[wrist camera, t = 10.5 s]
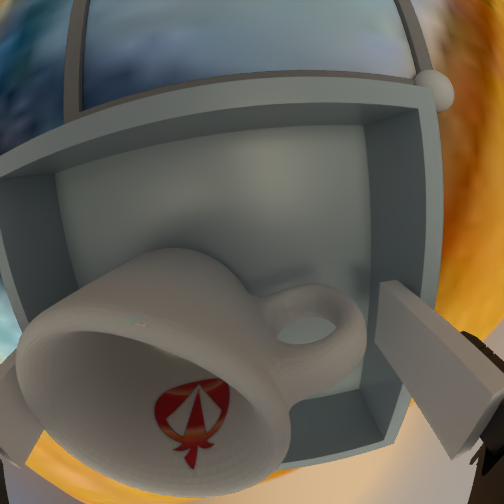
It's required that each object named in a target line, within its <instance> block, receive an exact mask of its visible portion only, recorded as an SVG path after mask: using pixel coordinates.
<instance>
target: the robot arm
mask: <svg viewBox="0 0 504 504" xmlns="http://www.w3.org/2000/svg"><path fill="white" fill-rule="evenodd" d="M374 342H375V343H376V345H377V346H378V347H379V349H380V350H381V352H382V353H383V355H384V356H385V358H386V359H387V360H388V362H389V363H390V365H391V366H392V368H393V369H394V371H395V372H396V374H397V375H398V377H399V378H400V380H401V381H402V383H403V384H404V386H405V387H406V389H407V390H408V392H409V393H410V395H411V396H412V398H413V399H414V401H415V402H416V404H417V405H418V407H419V408H420V410H421V411H422V413H423V415H424V416H425V418H426V419H427V421H428V423H429V424H430V426H431V427H432V429H433V431H434V432H435V434H436V435H437V437H438V439H439V440H440V442H441V444H442V445H443V447H444V449H445V450H446V452H447V454H448V455H449V457H450V459H451V460H454V459H455V458H457V457H459V456H461V455H462V454H464V453H466V452H467V451H469V450H471V449H472V447H473V446H474V444H475V443H476V442H477V440H478V439H479V437H480V438H481V440H482V441H483V444H482V446H481V447H480V449H479V450H478V451H477V452H476V454H475V455H474V456H473V458H472V459H471V461H470V464H471V465H472V464H473V463H474V462H475V460H476V459H477V458H478V457H479V458H478V463H477V464H476V465H477V468H476V474H475V478H474V482H473V486H472V490H471V494H470V497H469V501H468V504H504V361H503V360H502V359H500V358H499V357H498V356H497V355H496V354H493V351H492V350H490V348H488V347H486V345H485V344H484V343H483V342H482V341H481V340H479V339H478V338H477V337H476V336H474V335H471V334H469V333H467V332H465V331H462V332H459V331H458V330H457V329H455V328H454V327H453V326H452V325H451V324H450V323H449V322H447V321H446V320H445V319H444V318H443V317H442V316H440V315H439V314H438V313H437V312H436V311H435V310H433V309H432V308H431V307H430V306H429V305H427V304H426V303H425V302H424V301H423V300H421V299H420V298H419V297H418V296H416V295H415V294H414V293H413V292H411V291H410V290H409V289H408V288H407V287H405V286H404V285H403V284H401V283H400V282H399V281H398V280H391V281H386V282H380V288H379V302H378V313H377V323H376V332H375V341H374ZM16 351H17V348H16V349H15V350H14V351H13V352H12V353H11V354H10V355H9V356H8V357H7V359H6V360H5V361H4V362H3V363H2V364H1V365H0V453H1V454H2V455H3V456H4V457H5V458H6V459H7V460H8V461H9V462H10V463H11V464H13V465H15V466H17V467H19V468H21V469H22V468H23V466H24V464H25V462H26V460H27V458H28V457H29V455H30V453H31V451H32V449H33V448H34V446H35V444H36V442H37V441H38V439H39V437H40V435H41V434H42V432H43V430H44V428H43V427H42V426H41V425H40V423H39V422H38V420H37V419H36V418H35V416H34V415H33V413H32V412H31V410H30V408H29V406H28V405H27V403H26V401H25V398H24V396H23V394H22V391H21V389H20V386H19V382H18V378H17V372H16ZM0 504H9V501H8V496H7V490H6V485H5V478H4V470H3V463H2V460H1V459H0Z"/></svg>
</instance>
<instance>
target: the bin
mask: <svg viewBox="0 0 504 504" xmlns="http://www.w3.org/2000/svg"><path fill="white" fill-rule="evenodd" d="M442 237H443V168H442V154H441V143H440V134H439V126H438V119H437V112H436V106H435V101H434V95H433V90H432V89H431V88H426V87H421V86H415V85H409V84H403V83H396V82H389V81H380V80H371V79H359V78H344V77H276V78H260V79H249V80H239V81H230V82H222V83H215V84H208V85H202V86H196V87H191V88H185V89H180V90H175V91H171V92H166V93H162V94H157V95H153V96H149V97H145V98H142V99H138V100H134V101H131V102H127V103H124V104H120V105H117V106H114V107H111V108H108V109H105V110H102V111H99V112H96V113H93V114H90V115H87V116H85V117H82V118H79V119H77V120H74V121H72V122H69V123H67V124H64V125H62V126H59V127H57V128H55V129H53V130H50V131H48V132H46V133H44V134H42V135H39V136H37V137H35V138H33V139H31V140H29V141H27V142H25V143H23V144H21V145H19V146H17V147H15V148H14V149H12V150H10V151H8V152H6V153H5V154H3V155H1V156H0V272H1V276H2V279H3V282H4V286H5V289H6V292H7V295H8V297H9V300H10V303H11V306H12V308H13V311H14V314H15V316H16V319H17V321H18V324H19V326H20V328H21V331H22V333H23V332H24V330H25V329H26V327H27V326H28V325H29V323H30V322H31V321H32V320H33V319H34V318H35V317H37V316H38V315H39V314H40V313H42V312H43V311H44V310H46V309H48V308H49V307H51V306H53V305H54V304H56V303H57V302H59V301H61V300H62V299H64V298H66V297H67V296H69V295H71V294H72V293H74V292H76V291H77V290H79V289H81V288H82V287H84V286H86V285H88V284H89V283H91V282H93V281H95V280H96V279H98V278H100V277H101V276H103V275H105V274H107V273H109V272H110V271H112V270H114V269H116V268H117V267H119V266H121V265H123V264H125V263H126V262H128V261H130V260H132V259H134V258H136V257H138V256H140V255H142V254H145V253H148V252H151V251H154V250H159V249H165V248H183V249H190V250H194V251H198V252H201V253H203V254H206V255H208V256H210V257H212V258H214V259H216V260H218V261H219V262H221V263H222V264H223V265H225V266H226V267H227V268H228V269H229V270H230V271H231V272H232V273H233V274H234V275H235V276H236V277H237V278H238V279H239V280H240V282H241V283H242V284H243V286H244V287H245V289H246V291H247V292H248V293H249V294H251V295H253V296H256V297H261V296H266V295H269V294H272V293H275V292H278V291H281V290H284V289H287V288H290V287H294V286H298V285H304V284H325V285H330V286H333V287H336V288H338V289H340V290H341V291H343V292H344V293H346V294H347V295H349V296H350V297H351V298H352V299H353V300H354V301H355V302H356V304H357V305H358V307H359V309H360V310H361V312H362V314H363V317H364V321H365V325H366V330H367V347H366V351H365V354H364V356H363V358H362V360H361V362H360V363H359V365H358V366H357V368H356V369H355V370H354V371H353V372H352V373H351V374H350V375H349V376H347V377H346V378H344V379H343V380H342V381H340V382H339V383H337V384H335V385H333V386H331V387H330V388H328V389H326V390H323V391H321V392H319V393H316V394H314V395H312V396H309V397H307V398H305V399H302V400H301V401H299V402H297V403H296V404H294V405H293V406H292V407H291V409H290V411H289V419H290V424H291V440H290V445H289V449H288V451H287V454H286V456H285V458H284V459H283V461H282V463H281V464H280V465H279V467H278V468H277V469H276V470H275V471H277V470H285V469H292V468H299V467H305V466H311V465H316V464H321V463H325V462H330V461H335V460H339V459H343V458H347V457H351V456H355V455H359V454H362V453H366V452H369V451H372V450H376V449H378V448H382V447H385V446H388V445H391V444H393V443H394V441H395V439H396V437H397V434H398V432H399V430H400V427H401V425H402V422H403V420H404V417H405V414H406V412H407V409H408V406H409V403H410V401H411V398H412V396H411V395H410V393H409V392H408V390H407V389H406V387H405V386H404V384H403V383H402V381H401V380H400V378H399V377H398V375H397V374H396V372H395V371H394V369H393V368H392V366H391V365H390V363H389V362H388V360H387V359H386V358H385V356H384V355H383V353H382V352H381V350H380V349H379V347H378V346H377V345H376V343H375V342H374V341H375V332H376V323H377V313H378V302H379V288H380V282H386V281H391V280H398V281H399V282H400V283H401V284H403V285H404V286H405V287H407V288H408V289H409V290H410V291H411V292H413V293H414V294H415V295H416V296H418V297H419V298H420V299H421V300H423V301H424V302H425V303H426V304H427V305H429V306H430V307H431V308H432V309H433V310H434V307H435V301H436V295H437V288H438V280H439V272H440V263H441V252H442ZM336 328H337V327H336V326H335V325H334V324H333V323H331V322H330V321H328V320H326V319H323V318H319V317H308V318H303V319H300V320H297V321H294V322H292V323H290V324H289V325H287V326H286V327H285V328H283V329H282V330H281V332H280V333H279V335H278V337H277V339H278V340H280V341H283V342H285V343H289V344H306V343H311V342H315V341H318V340H321V339H323V338H325V337H327V336H328V335H329V334H331V333H332V332H333V331H334V330H335V329H336Z"/></svg>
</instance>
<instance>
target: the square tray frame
mask: <svg viewBox="0 0 504 504" xmlns="http://www.w3.org/2000/svg"><path fill="white" fill-rule="evenodd" d="M394 1H395V3H396V6H397V8H398V11H399V14H400V17H401V20H402V22H403V25H404V28H405V32H406V35H407V38H408V41H409V45H410V48H411V52H412V55H413V59H414V63H415V67H416V71H417V75H416V77H415V79H414V80H413V79H407V78H401V77H394V76H387V75H379V74H370V73H360V72H347V71H325V70H289V71H267V72H253V73H243V74H233V75H225V76H218V77H211V78H205V79H199V80H193V81H187V82H182V83H177V84H173V85H168V86H164V87H159V88H155V89H151V90H147V91H143V92H140V93H136V94H132V95H129V96H126V97H122V98H119V99H116V100H113V101H110V102H107V103H104V104H101V105H98V106H95V107H92V108H89V109H87V110H84V111H83V103H82V80H83V55H84V42H85V32H86V23H87V15H88V8H89V2H90V0H74V1H73V6H72V12H71V17H70V24H69V30H68V38H67V46H66V57H65V71H64V124H67V123H69V122H72V121H74V120H77V119H79V118H82V117H85V116H87V115H90V114H93V113H96V112H99V111H102V110H105V109H108V108H111V107H114V106H117V105H120V104H124V103H127V102H131V101H134V100H138V99H142V98H145V97H149V96H153V95H157V94H162V93H166V92H171V91H175V90H180V89H185V88H191V87H196V86H202V85H208V84H215V83H222V82H230V81H239V80H249V79H260V78H276V77H344V78H359V79H371V80H380V81H389V82H396V83H403V84H409V85H415V86H421V87H426V88H431V89H432V90H433V95H434V101H435V106H436V112H442V111H445V110H447V109H448V108H449V107H450V106H451V105H452V103H453V100H454V89H453V86H452V84H451V82H450V81H449V79H448V78H447V77H446V76H445V75H443V74H442V73H440V72H438V71H436V70H433V68H432V64H431V60H430V56H429V53H428V49H427V46H426V42H425V39H424V36H423V33H422V30H421V27H420V24H419V21H418V19H417V16H416V13H415V11H414V8H413V6H412V3H411V1H410V0H394Z"/></svg>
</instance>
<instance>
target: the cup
mask: <svg viewBox="0 0 504 504" xmlns="http://www.w3.org/2000/svg"><path fill="white" fill-rule="evenodd" d="M308 317H319V318H323V319H326V320H328V321H330V322H331V323H333V324H334V325H335V326H336V327H337V328H336V329H335V330H334V331H333V332H332V333H331V334H329V335H328V336H327V337H325V338H323V339H321V340H318V341H315V342H311V343H306V344H289V343H285V342H283V341H280V340H278V339H277V337H278V335H279V333H280V332H281V330H282V329H283V328H285V327H286V326H287V325H289V324H290V323H292V322H294V321H297V320H300V319H303V318H308ZM366 347H367V330H366V325H365V321H364V317H363V314H362V312H361V310H360V309H359V307H358V305H357V304H356V302H355V301H354V300H353V299H352V298H351V297H350V296H349V295H347V294H346V293H344V292H343V291H341V290H340V289H338V288H336V287H333V286H330V285H325V284H304V285H298V286H294V287H290V288H287V289H284V290H281V291H278V292H275V293H272V294H269V295H266V296H261V297H256V296H253V295H251V294H249V293H248V292H247V291H246V289H245V287H244V286H243V284H242V283H241V282H240V280H239V279H238V278H237V277H236V276H235V275H234V274H233V273H232V272H231V271H230V270H229V269H228V268H227V267H226V266H225V265H223V264H222V263H221V262H219V261H218V260H216V259H214V258H212V257H210V256H208V255H206V254H203V253H201V252H198V251H194V250H190V249H183V248H165V249H159V250H154V251H151V252H148V253H145V254H142V255H140V256H138V257H136V258H134V259H132V260H130V261H128V262H126V263H125V264H123V265H121V266H119V267H117V268H116V269H114V270H112V271H110V272H109V273H107V274H105V275H103V276H101V277H100V278H98V279H96V280H95V281H93V282H91V283H89V284H88V285H86V286H84V287H82V288H81V289H79V290H77V291H76V292H74V293H72V294H71V295H69V296H67V297H66V298H64V299H62V300H61V301H59V302H57V303H56V304H54V305H53V306H51V307H49V308H48V309H46V310H44V311H43V312H42V313H40V314H39V315H38V316H37V317H35V318H34V319H33V320H32V321H31V322H30V323H29V325H28V326H27V327H26V329H25V330H24V332H23V333H22V335H21V337H20V340H19V343H18V346H17V351H16V372H17V378H18V382H19V386H20V389H21V391H22V394H23V396H24V398H25V401H26V403H27V405H28V406H29V408H30V410H31V412H32V413H33V415H34V416H35V418H36V419H37V420H38V422H39V423H40V425H41V426H42V427H43V428H44V429H45V430H46V431H47V433H48V434H49V435H50V436H51V437H52V438H53V439H54V440H55V441H56V442H57V443H58V444H59V445H60V446H61V447H63V448H64V449H65V450H66V451H67V452H68V453H70V454H71V455H72V456H74V457H75V458H76V459H78V460H79V461H81V462H82V463H83V464H85V465H86V466H88V467H90V468H92V469H93V470H95V471H97V472H98V473H100V474H102V475H104V476H106V477H108V478H110V479H113V480H115V481H117V482H119V483H122V484H125V485H127V486H130V487H133V488H136V489H139V490H143V491H147V492H151V493H156V494H160V495H166V496H174V497H187V498H204V497H214V496H222V495H226V494H230V493H235V492H238V491H241V490H244V489H247V488H249V487H252V486H254V485H256V484H257V483H259V482H261V481H263V480H264V479H266V478H267V477H268V476H269V475H270V474H271V473H273V472H274V471H275V470H276V469H277V468H278V467H279V465H280V464H281V463H282V461H283V459H284V458H285V456H286V454H287V451H288V449H289V445H290V440H291V424H290V419H289V411H290V409H291V407H292V406H293V405H294V404H296V403H297V402H299V401H301V400H302V399H305V398H307V397H309V396H312V395H314V394H316V393H319V392H321V391H323V390H326V389H328V388H330V387H331V386H333V385H335V384H337V383H339V382H340V381H342V380H343V379H344V378H346V377H347V376H349V375H350V374H351V373H352V372H353V371H354V370H355V369H356V368H357V366H358V365H359V363H360V362H361V360H362V358H363V356H364V354H365V351H366Z"/></svg>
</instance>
